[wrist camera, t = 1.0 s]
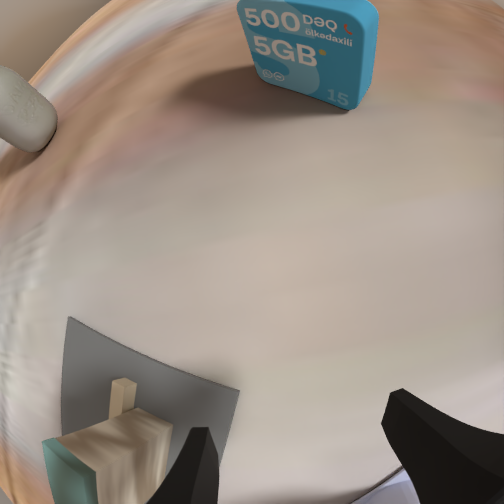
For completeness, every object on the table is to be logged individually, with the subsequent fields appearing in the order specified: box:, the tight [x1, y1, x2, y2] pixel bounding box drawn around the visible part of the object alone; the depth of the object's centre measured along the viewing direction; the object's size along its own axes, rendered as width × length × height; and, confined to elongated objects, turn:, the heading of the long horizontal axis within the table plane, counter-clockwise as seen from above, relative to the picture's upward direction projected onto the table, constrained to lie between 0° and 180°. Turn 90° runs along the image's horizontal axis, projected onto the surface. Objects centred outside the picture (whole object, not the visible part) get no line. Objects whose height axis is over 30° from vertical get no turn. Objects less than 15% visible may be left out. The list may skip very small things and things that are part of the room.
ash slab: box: [42, 407, 173, 504], centre depth 14 cm, size 4×9×12 cm, turn 166°
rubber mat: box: [61, 317, 240, 504], centre depth 20 cm, size 21×20×2 cm
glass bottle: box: [0, 65, 58, 152], centre depth 23 cm, size 10×10×28 cm
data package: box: [237, 0, 379, 110], centre depth 20 cm, size 12×4×12 cm, turn 56°
